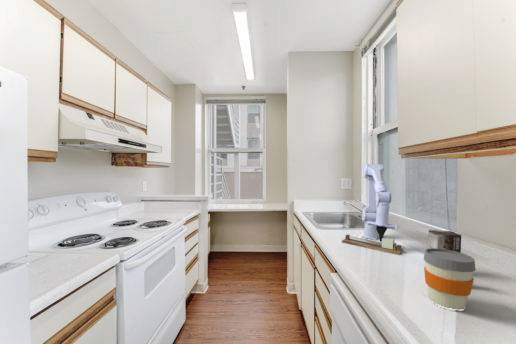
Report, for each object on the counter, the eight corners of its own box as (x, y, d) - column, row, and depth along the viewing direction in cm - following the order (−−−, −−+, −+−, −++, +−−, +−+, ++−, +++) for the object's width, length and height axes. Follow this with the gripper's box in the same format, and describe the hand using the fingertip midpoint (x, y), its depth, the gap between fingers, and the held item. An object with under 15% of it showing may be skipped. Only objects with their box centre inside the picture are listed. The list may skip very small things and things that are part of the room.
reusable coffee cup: (420, 289, 85) (422, 245, 84) (467, 300, 78) (470, 253, 78) (423, 306, 74) (425, 256, 74) (478, 320, 67) (481, 266, 67)
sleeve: (383, 245, 129) (383, 236, 129) (394, 247, 126) (394, 238, 126) (381, 247, 126) (382, 238, 126) (392, 249, 123) (393, 240, 123)
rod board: (347, 239, 143) (347, 232, 143) (402, 250, 126) (403, 243, 126) (341, 242, 136) (342, 235, 136) (399, 255, 119) (399, 247, 119)
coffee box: (449, 269, 103) (451, 230, 103) (460, 275, 97) (462, 235, 97) (426, 267, 104) (428, 229, 104) (435, 274, 98) (437, 233, 98)
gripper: (365, 213, 129) (364, 239, 129) (396, 218, 120) (395, 246, 120) (369, 212, 135) (368, 237, 135) (399, 216, 126) (398, 242, 126)
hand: (381, 241), depth 128 cm, fingers closed
